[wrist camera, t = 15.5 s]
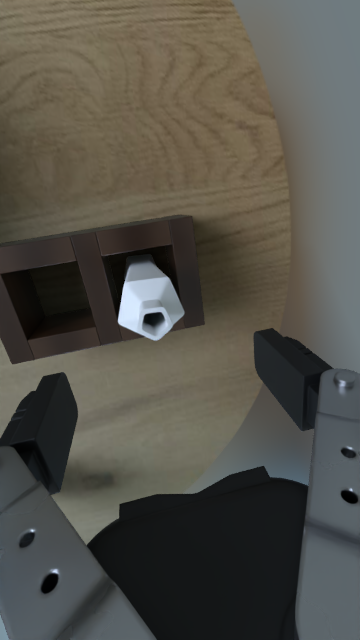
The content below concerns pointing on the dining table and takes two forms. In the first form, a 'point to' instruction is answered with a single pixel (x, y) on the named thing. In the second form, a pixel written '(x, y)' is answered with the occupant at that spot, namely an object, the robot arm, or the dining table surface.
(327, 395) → the robot arm
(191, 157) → the dining table surface
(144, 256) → the perfume bottle
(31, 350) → the holder
